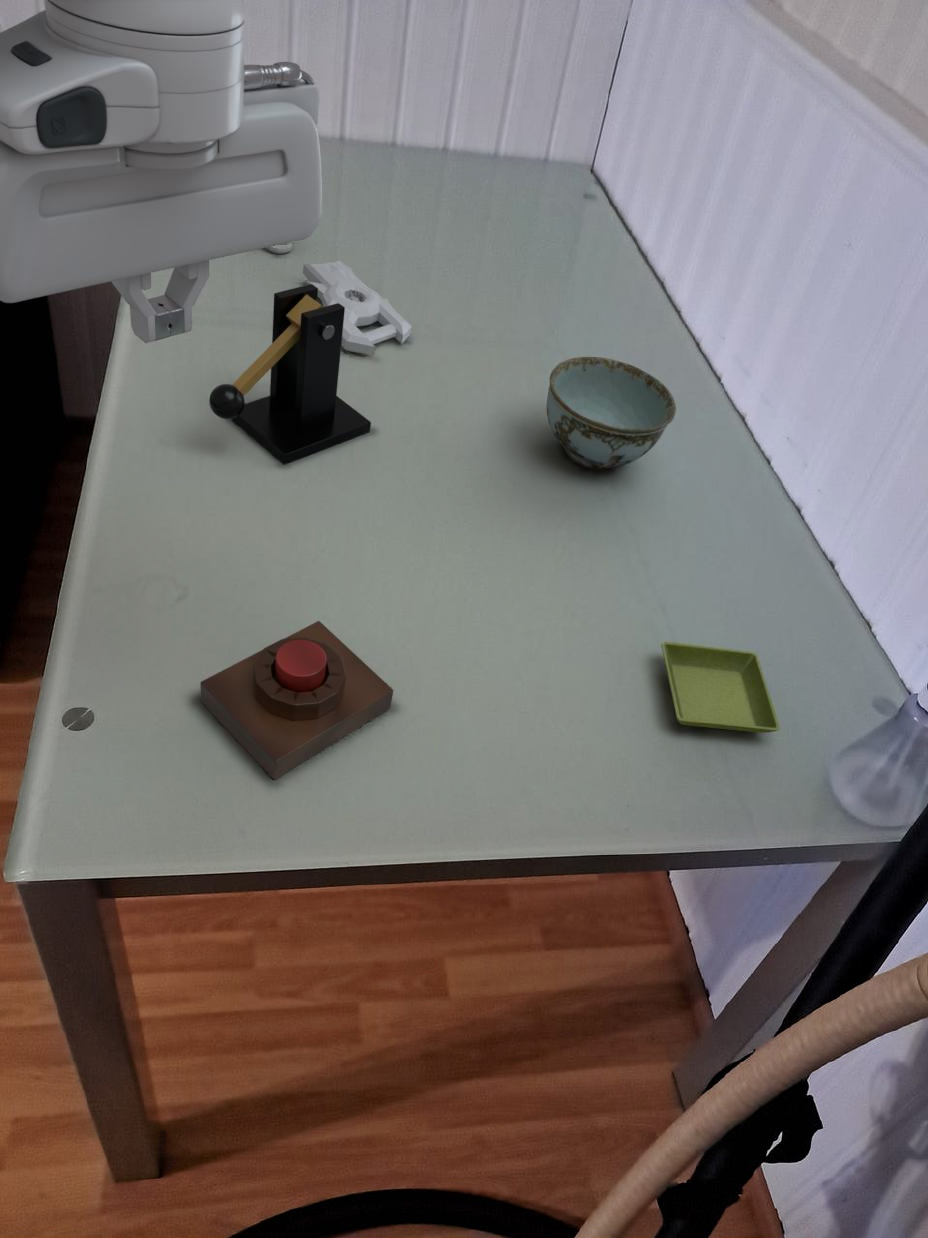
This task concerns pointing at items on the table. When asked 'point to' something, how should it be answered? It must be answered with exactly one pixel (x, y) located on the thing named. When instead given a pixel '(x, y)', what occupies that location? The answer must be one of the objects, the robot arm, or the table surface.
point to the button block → (295, 702)
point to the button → (300, 665)
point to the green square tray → (718, 688)
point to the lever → (259, 365)
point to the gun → (356, 306)
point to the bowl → (606, 411)
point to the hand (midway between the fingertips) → (162, 333)
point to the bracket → (304, 386)
